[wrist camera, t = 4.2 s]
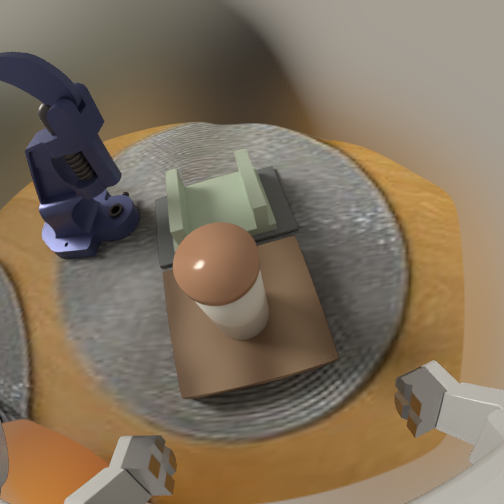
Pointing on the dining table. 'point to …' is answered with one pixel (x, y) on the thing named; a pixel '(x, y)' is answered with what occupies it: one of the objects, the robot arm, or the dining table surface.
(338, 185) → the dining table surface
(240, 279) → the mushroom
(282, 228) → the mat
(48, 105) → the hand press
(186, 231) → the rack
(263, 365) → the board
